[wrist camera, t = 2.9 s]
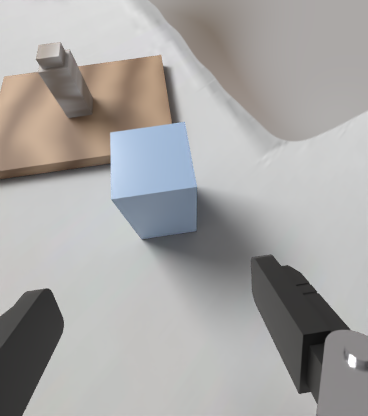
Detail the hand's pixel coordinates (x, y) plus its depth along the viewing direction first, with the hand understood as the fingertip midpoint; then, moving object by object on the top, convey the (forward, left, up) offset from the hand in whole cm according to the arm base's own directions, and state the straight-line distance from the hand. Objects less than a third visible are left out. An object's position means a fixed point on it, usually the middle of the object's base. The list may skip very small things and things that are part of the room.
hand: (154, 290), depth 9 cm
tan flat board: (+9, -24, -13) cm, 29 cm away
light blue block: (0, -9, -13) cm, 16 cm away
